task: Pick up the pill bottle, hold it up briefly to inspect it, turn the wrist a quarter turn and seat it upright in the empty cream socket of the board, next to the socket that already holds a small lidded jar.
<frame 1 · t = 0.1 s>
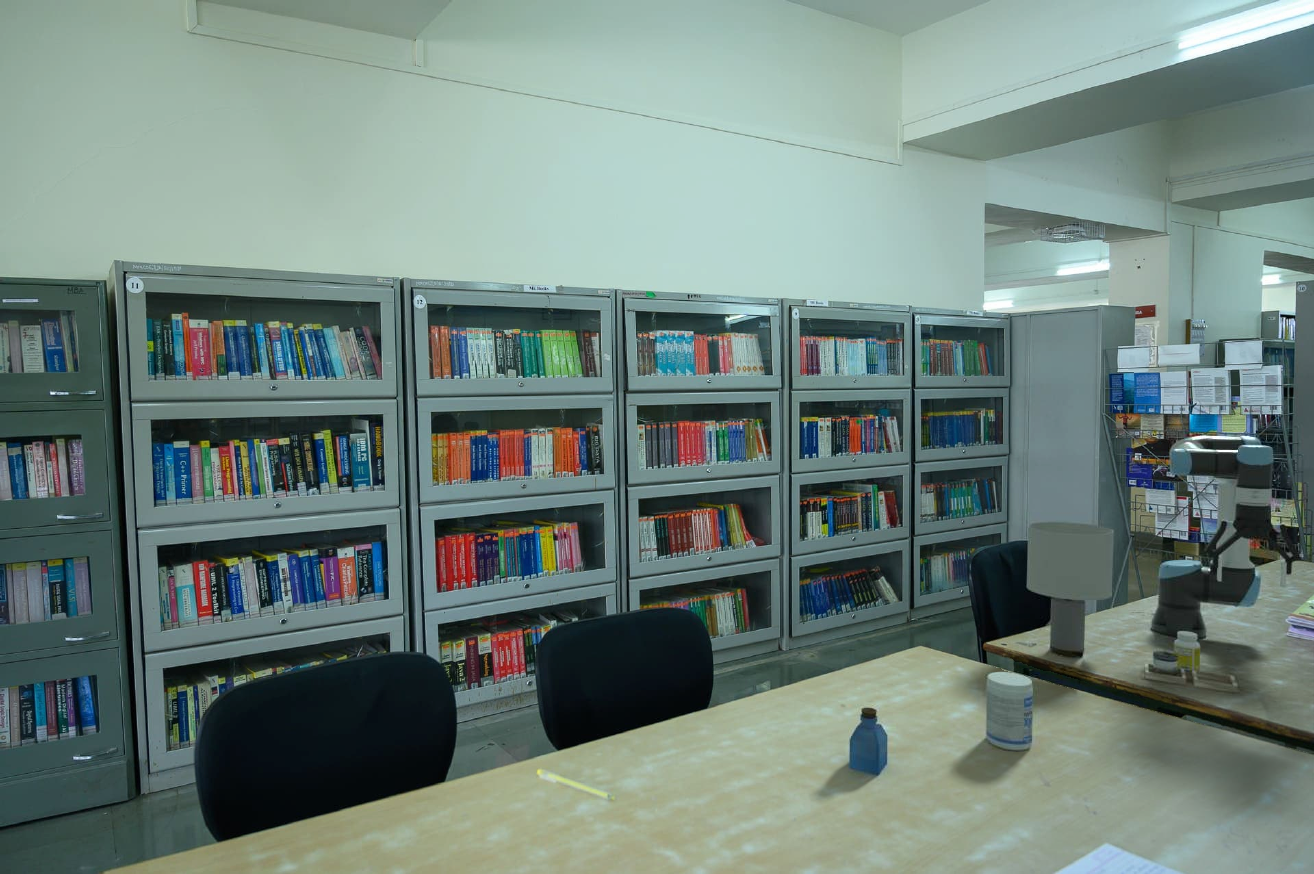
hand: (1250, 583, 209), 28 cm above the table, fingers open, 13 cm apart
pill bottle: (1186, 672, 221), on the table
supplement tub: (1008, 743, 177), on the table
lamp: (1066, 653, 238), on the table
socket board: (1188, 684, 212), on the table
small lidded jar: (1164, 676, 215), point 1 cm above the table, touching socket board
perfume bottle: (868, 766, 166), on the table
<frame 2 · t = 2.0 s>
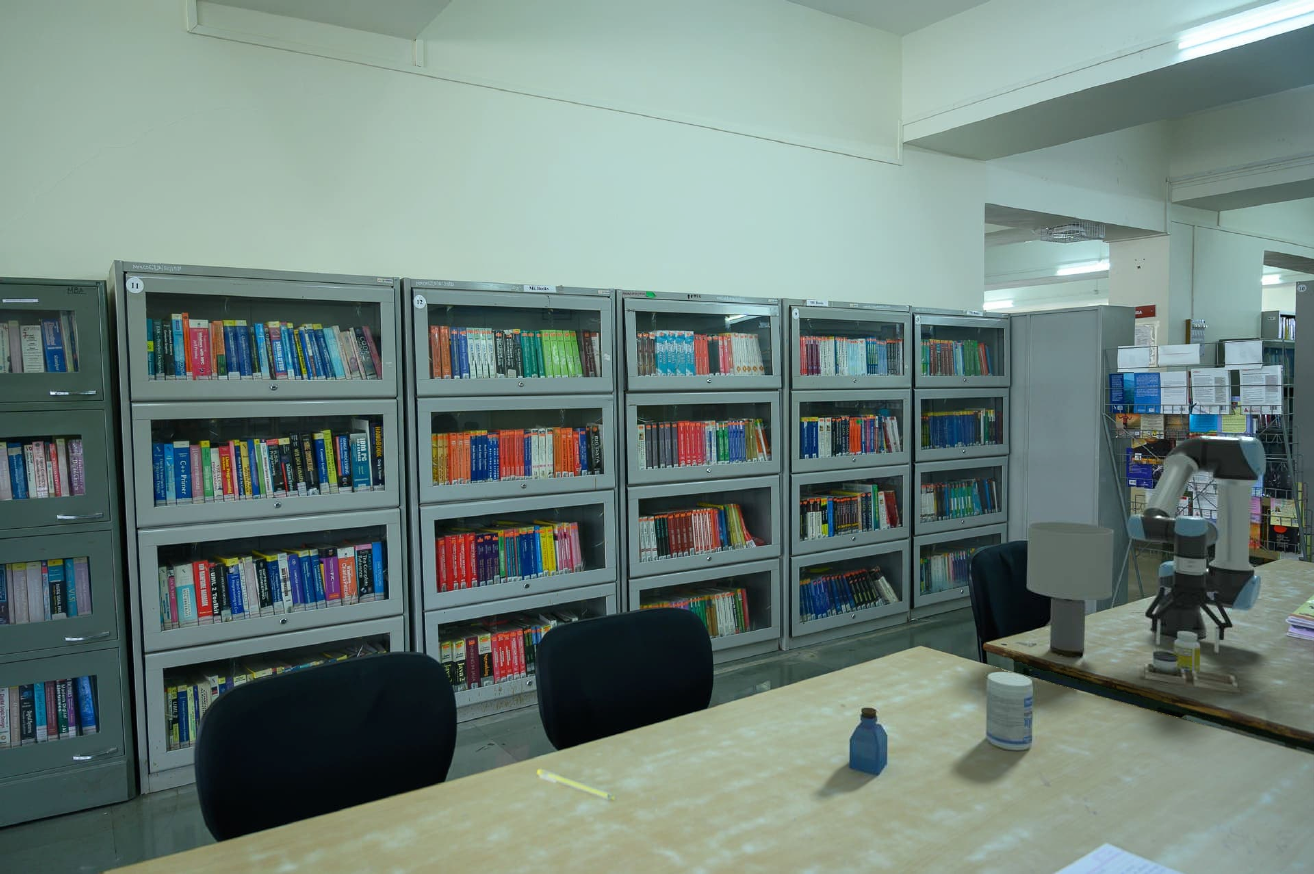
hand: (1186, 647, 221), 7 cm above the table, fingers open, 13 cm apart
nothing on the table moved.
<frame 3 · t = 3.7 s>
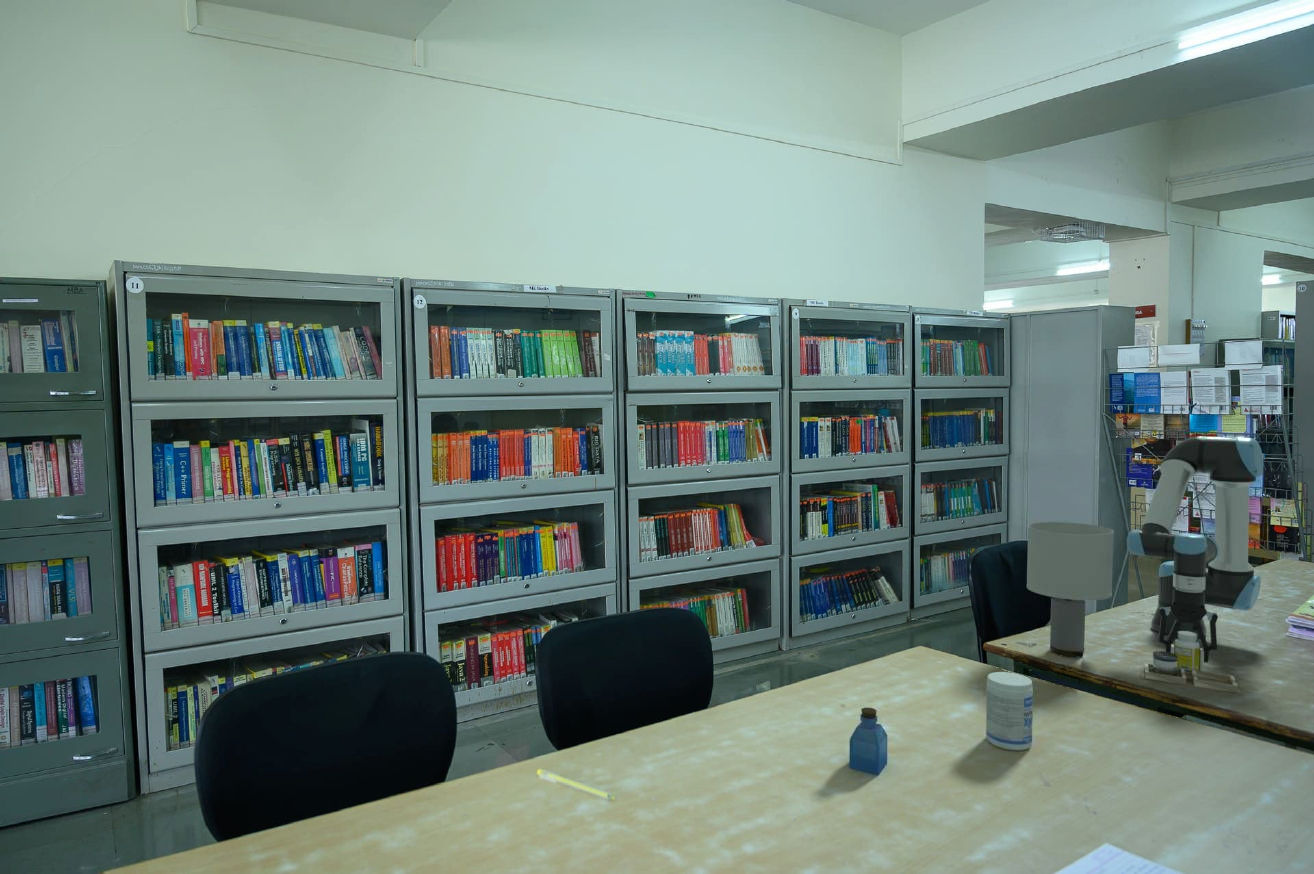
hand: (1186, 670, 221), 0 cm above the table, fingers closed on pill bottle, 6 cm apart
pill bottle: (1186, 672, 221), on the table, touching gripper
everything else where it was.
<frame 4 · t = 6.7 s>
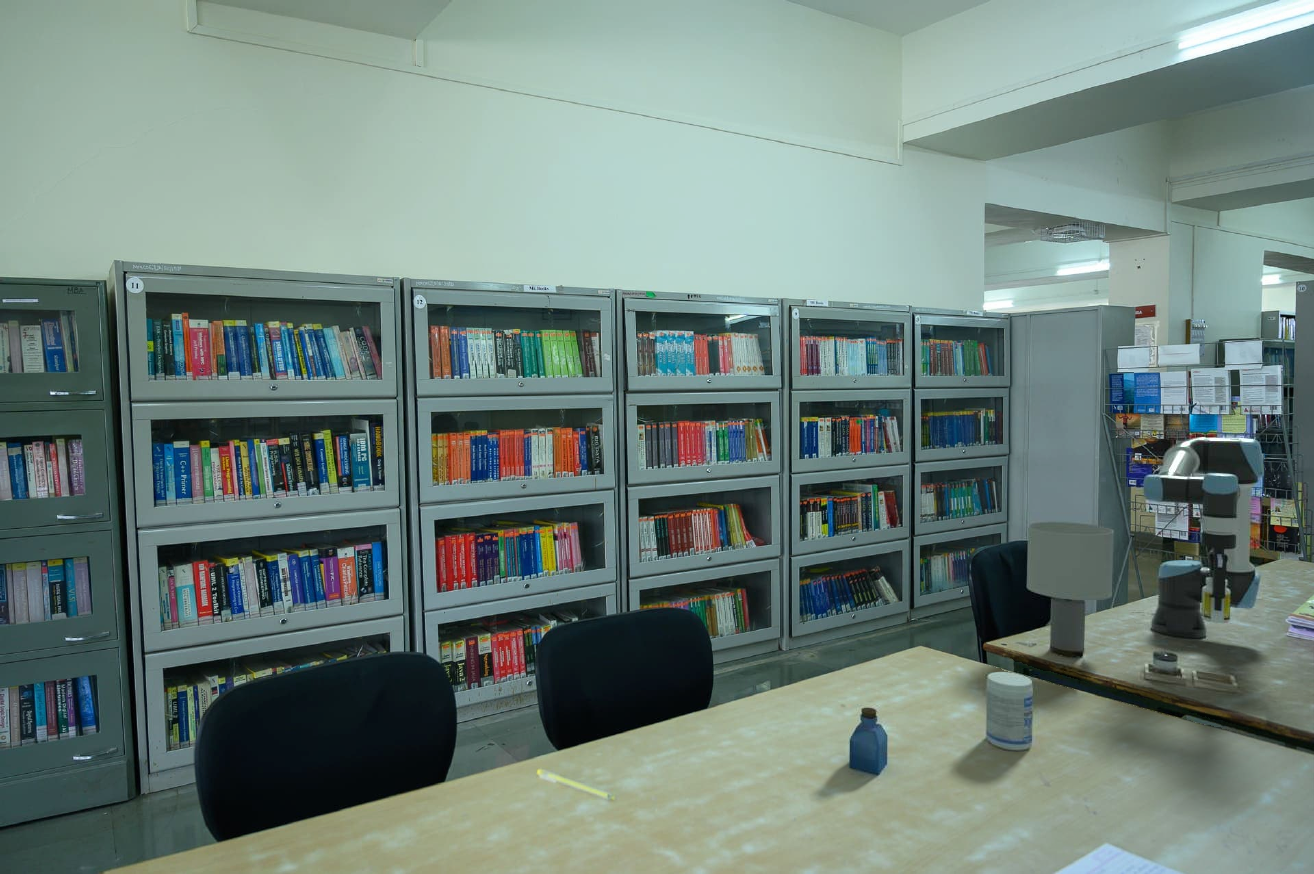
hand: (1215, 618, 208), 19 cm above the table, fingers closed on pill bottle, 6 cm apart
pill bottle: (1215, 621, 208), point 18 cm above the table, touching gripper
everything else where it was.
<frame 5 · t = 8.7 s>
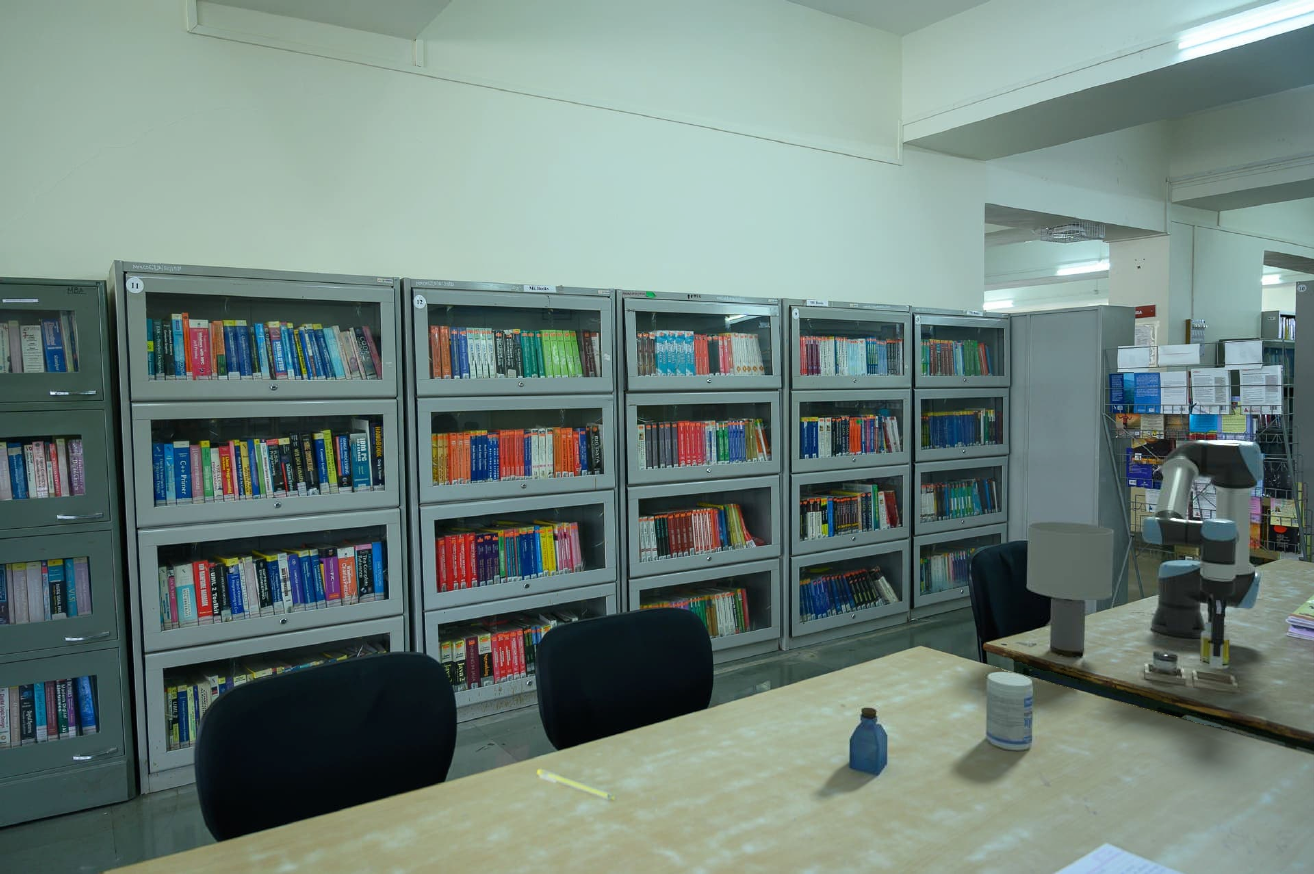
hand: (1214, 663, 209), 7 cm above the table, fingers closed on pill bottle, 6 cm apart
pill bottle: (1214, 666, 209), point 6 cm above the table, touching gripper
everything else where it was.
when the fingers open (4 cm above the table, at t = 10.1 s): pill bottle drops 2 cm, resting on socket board.
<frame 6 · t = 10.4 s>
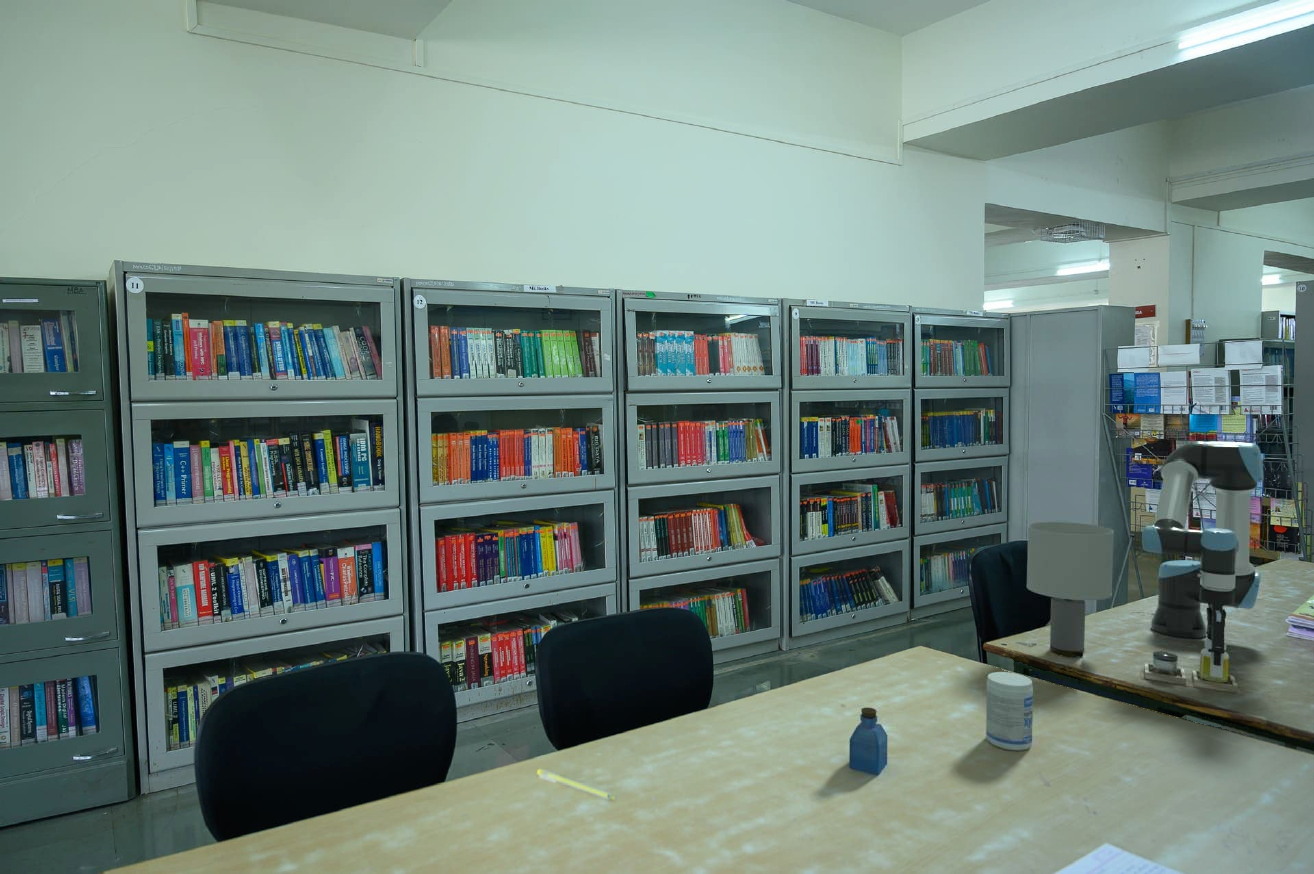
hand: (1214, 670, 209), 5 cm above the table, fingers open, 10 cm apart
pill bottle: (1213, 684, 209), point 1 cm above the table, touching socket board
everything else where it was.
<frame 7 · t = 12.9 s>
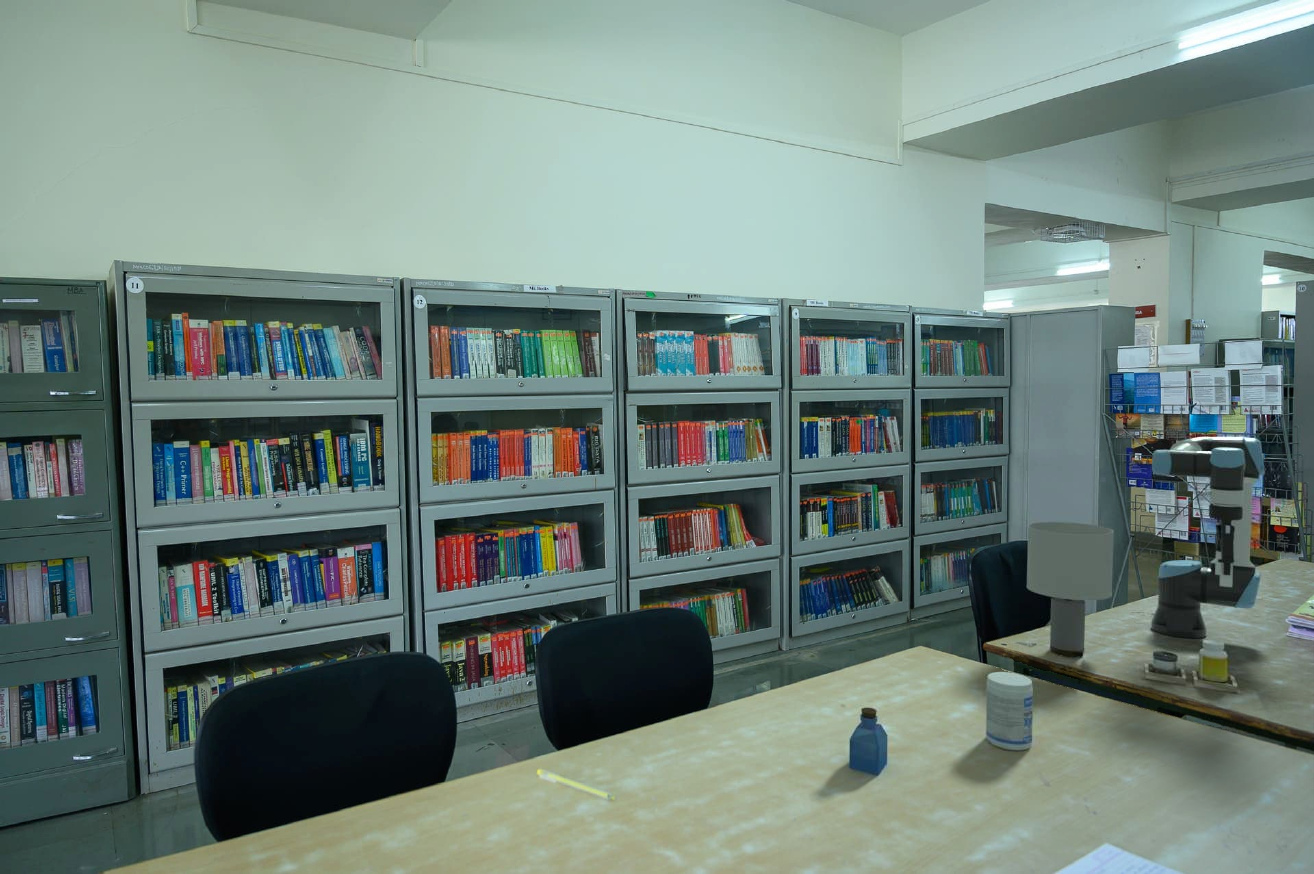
hand: (1223, 580, 217), 27 cm above the table, fingers open, 13 cm apart
nothing on the table moved.
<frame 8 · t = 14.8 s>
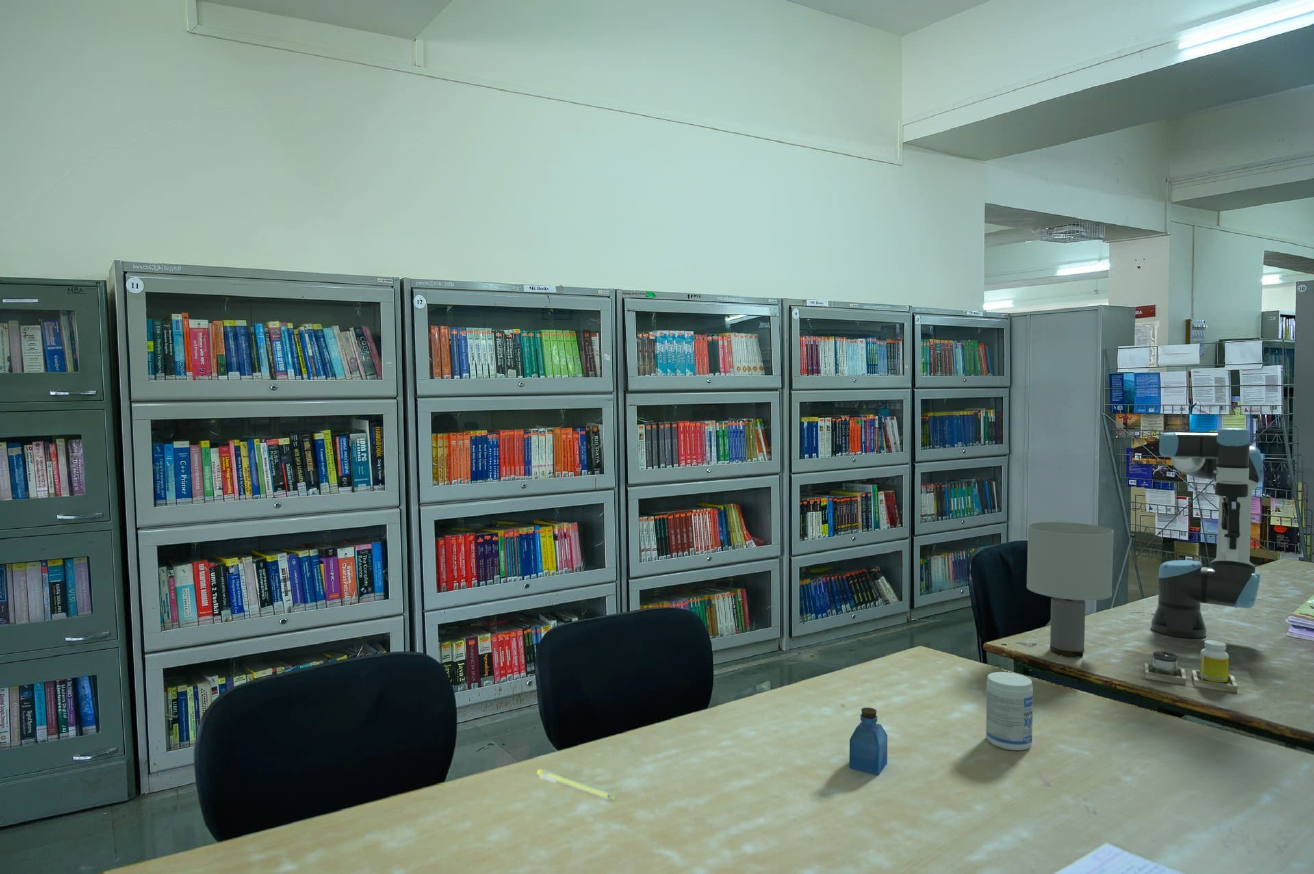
hand: (1229, 556, 225), 32 cm above the table, fingers open, 13 cm apart
nothing on the table moved.
at the end: pill bottle 0.2 cm from the target spot on the socket board, point 1.1 cm above the socket board's base; pill bottle tilted 1°; the gripper is holding nothing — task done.
